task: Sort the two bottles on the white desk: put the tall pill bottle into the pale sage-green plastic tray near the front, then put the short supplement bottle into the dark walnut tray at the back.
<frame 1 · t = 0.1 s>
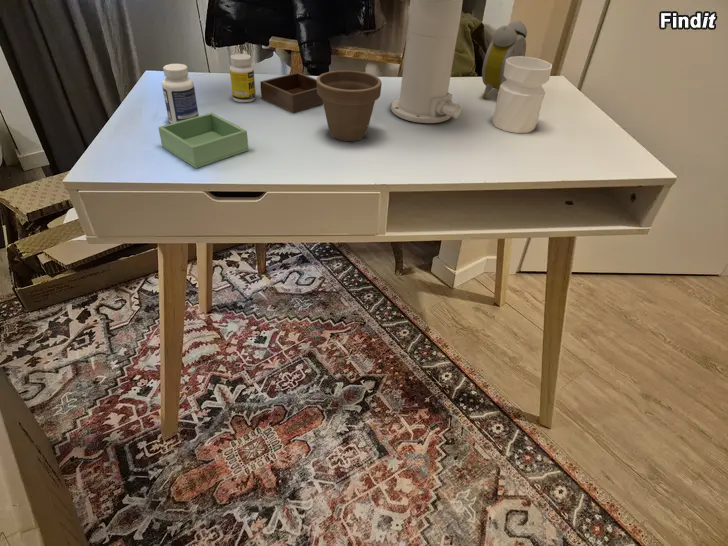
flower pot: (346, 135, 93), on the table
vase: (513, 125, 102), on the table
green tray: (205, 148, 85), on the table
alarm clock: (499, 96, 115), on the table
supplement bottle: (244, 99, 104), on the table
pill bottle: (184, 122, 93), on the table
walnut tray: (295, 100, 105), on the table
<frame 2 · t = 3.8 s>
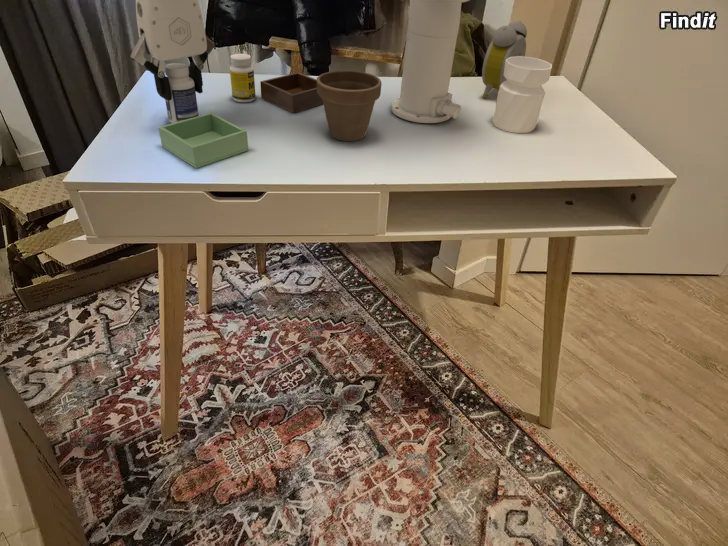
hand: (181, 93, 90), 5 cm above the table, tool pointing down, fingers closed on pill bottle, 5 cm apart
pill bottle: (184, 121, 93), on the table, touching gripper
everything else where it was.
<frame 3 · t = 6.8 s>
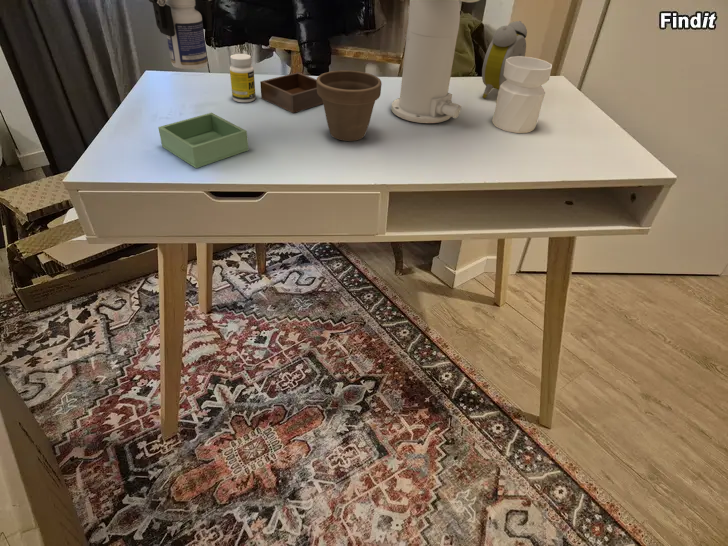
hand: (186, 30, 74), 18 cm above the table, tool pointing down, fingers closed on pill bottle, 5 cm apart
pill bottle: (190, 66, 78), point 13 cm above the table, touching gripper
everything else where it was.
when the fingers open (6 cm above the table, at t = 10.1 s): pill bottle stays where it is, resting on green tray.
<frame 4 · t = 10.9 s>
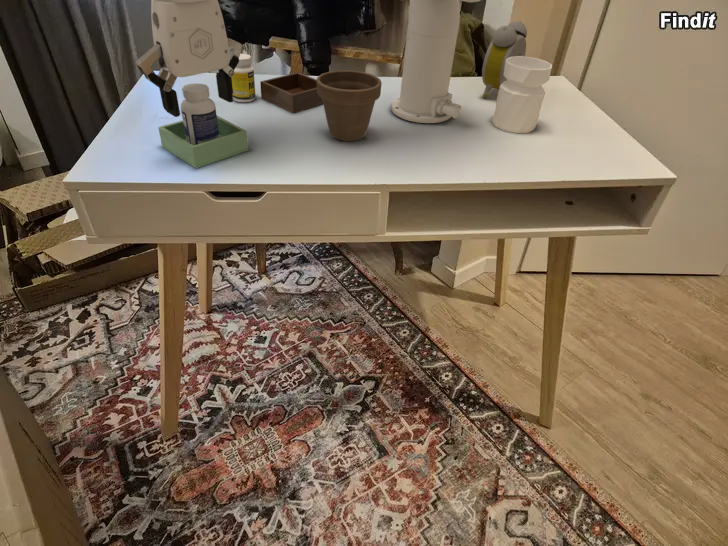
hand: (200, 106, 80), 7 cm above the table, tool pointing down, fingers open, 9 cm apart
pill bottle: (204, 146, 85), resting on green tray
everything else where it was.
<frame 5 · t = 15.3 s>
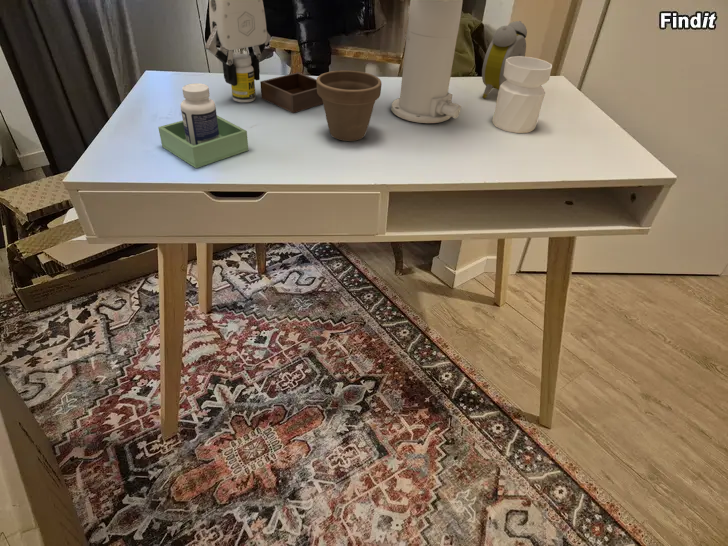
hand: (242, 80, 101), 4 cm above the table, tool pointing down, fingers closed on supplement bottle, 4 cm apart
supplement bottle: (244, 99, 104), on the table, touching gripper
everything else where it was.
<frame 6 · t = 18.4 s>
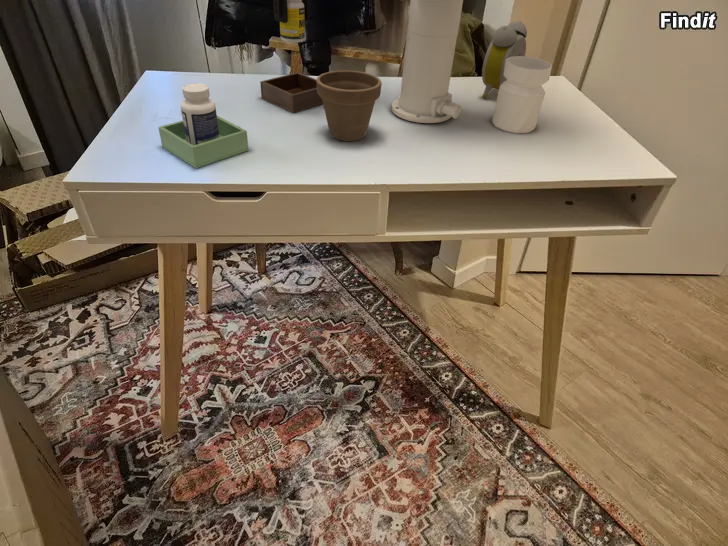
hand: (292, 18, 95), 16 cm above the table, tool pointing down, fingers closed on supplement bottle, 4 cm apart
supplement bottle: (292, 40, 97), point 12 cm above the table, touching gripper
everything else where it was.
when the fingers open (4 cm above the table, at t = 21.4 s): supplement bottle stays where it is, resting on walnut tray.
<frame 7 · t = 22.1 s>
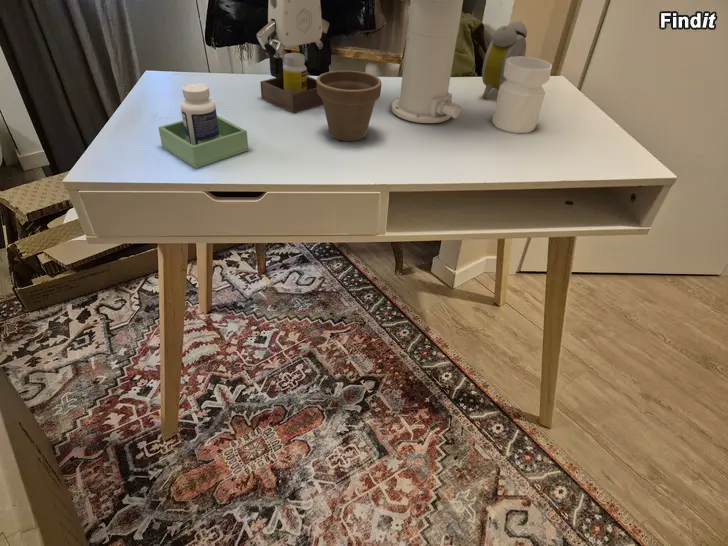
hand: (295, 72, 101), 6 cm above the table, tool pointing down, fingers open, 9 cm apart
supplement bottle: (295, 98, 105), resting on walnut tray
everything else where it was.
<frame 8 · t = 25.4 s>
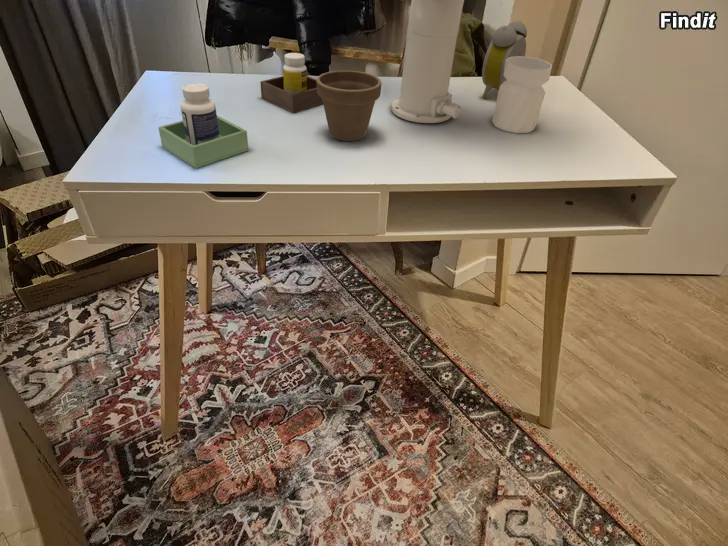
nothing on the table moved.
at the end: pill bottle inside the target area in the green tray (0.2 cm from its centre), point 0.3 cm above the green tray's base; supplement bottle inside the target area in the walnut tray (0.1 cm from its centre), point 0.3 cm above the walnut tray's base; pill bottle tilted 0° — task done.
